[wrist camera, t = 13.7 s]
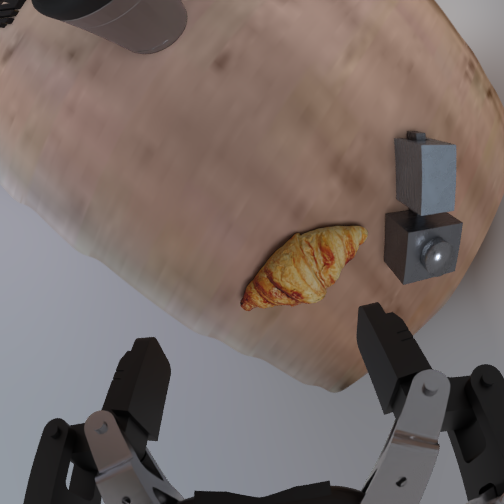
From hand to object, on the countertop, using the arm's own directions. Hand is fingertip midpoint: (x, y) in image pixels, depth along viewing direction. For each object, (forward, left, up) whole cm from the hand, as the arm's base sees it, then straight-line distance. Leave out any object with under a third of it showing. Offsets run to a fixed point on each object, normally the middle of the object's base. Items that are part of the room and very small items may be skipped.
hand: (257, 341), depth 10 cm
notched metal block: (+2, +24, -28) cm, 37 cm away
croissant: (+14, +6, -28) cm, 32 cm away
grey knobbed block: (+6, +24, -28) cm, 37 cm away
